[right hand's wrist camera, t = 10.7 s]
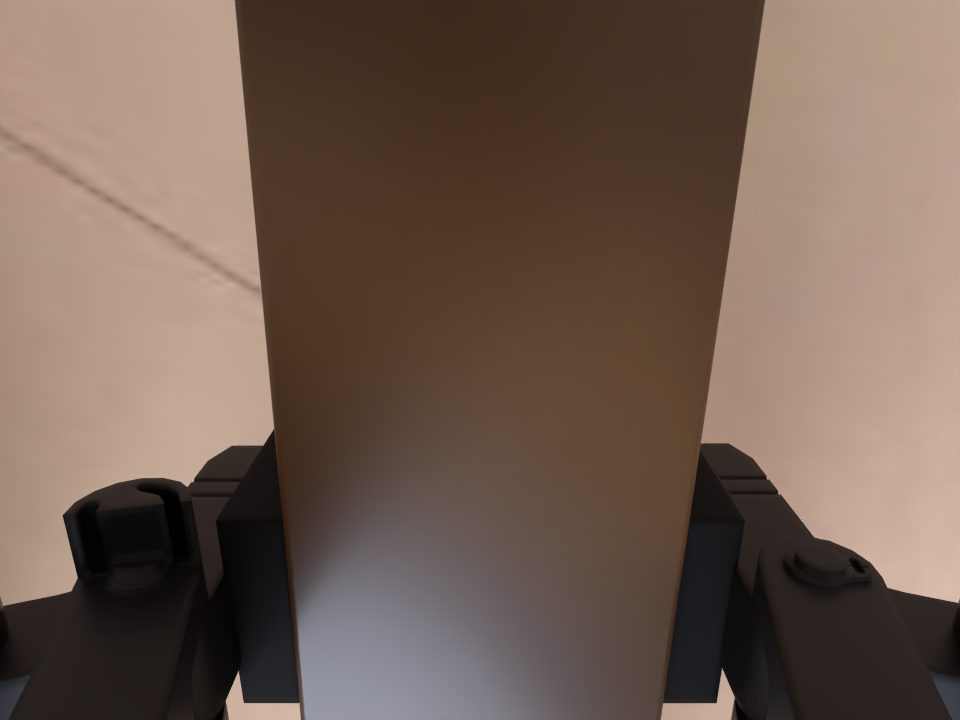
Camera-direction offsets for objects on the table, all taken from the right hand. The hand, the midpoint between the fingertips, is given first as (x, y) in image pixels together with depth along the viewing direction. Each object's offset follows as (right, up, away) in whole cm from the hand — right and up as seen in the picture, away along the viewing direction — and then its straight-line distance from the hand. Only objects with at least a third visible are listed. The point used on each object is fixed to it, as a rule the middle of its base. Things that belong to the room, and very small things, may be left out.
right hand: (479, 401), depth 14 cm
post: (0, -21, +8) cm, 22 cm away
